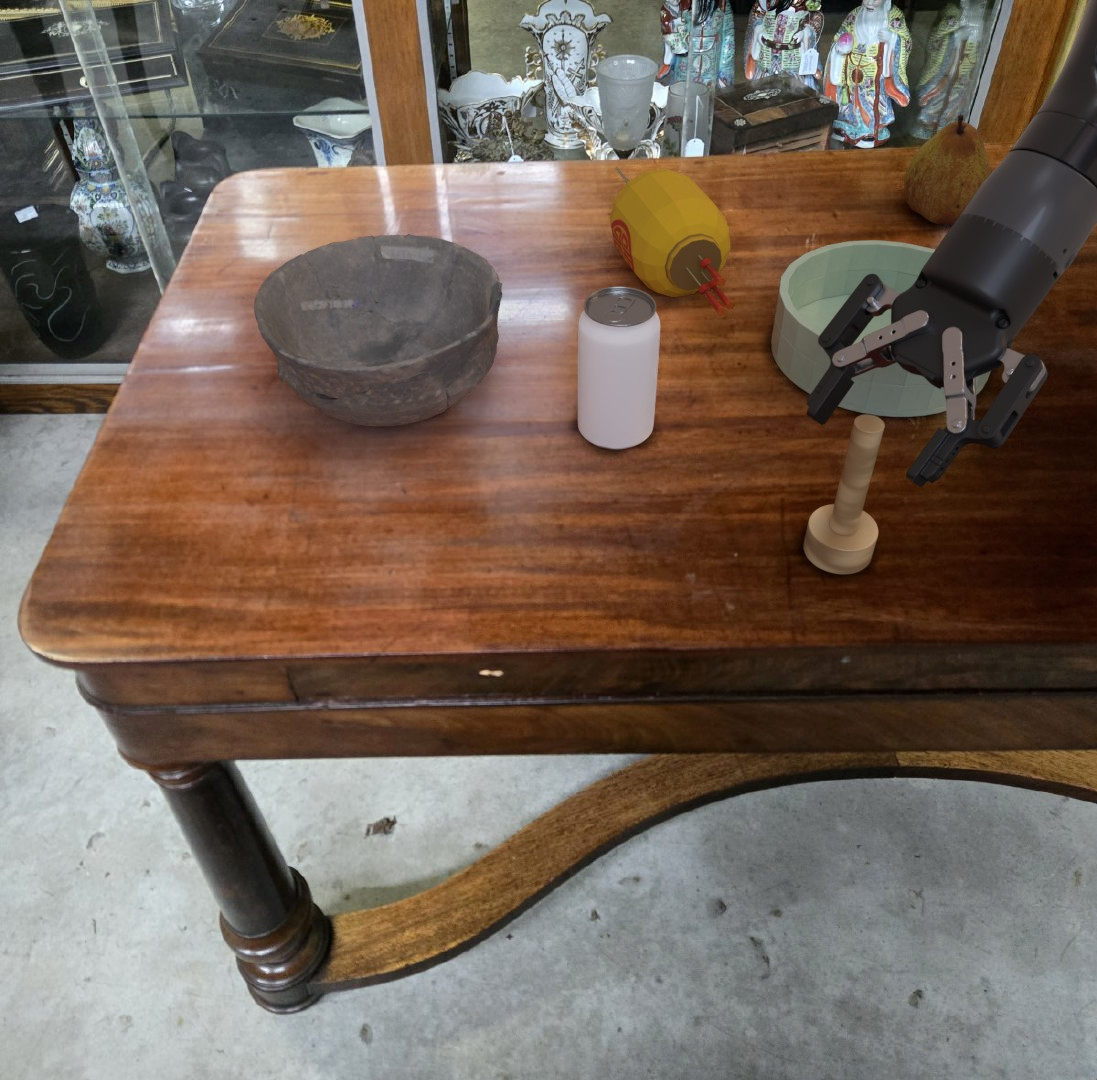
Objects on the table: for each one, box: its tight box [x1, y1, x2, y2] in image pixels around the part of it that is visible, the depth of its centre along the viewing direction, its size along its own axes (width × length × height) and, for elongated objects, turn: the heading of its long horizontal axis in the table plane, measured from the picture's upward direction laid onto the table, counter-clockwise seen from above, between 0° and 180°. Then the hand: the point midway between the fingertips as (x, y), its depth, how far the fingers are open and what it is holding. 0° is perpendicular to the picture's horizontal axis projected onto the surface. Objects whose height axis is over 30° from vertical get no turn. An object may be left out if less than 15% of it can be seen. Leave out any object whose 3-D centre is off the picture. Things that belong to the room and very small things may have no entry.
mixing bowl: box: [770, 239, 992, 418], centre depth 94 cm, size 20×20×6 cm
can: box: [577, 286, 661, 451], centre depth 84 cm, size 6×6×12 cm
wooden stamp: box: [802, 414, 886, 575], centre depth 73 cm, size 5×5×12 cm
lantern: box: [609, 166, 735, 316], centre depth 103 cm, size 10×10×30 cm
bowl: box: [253, 233, 503, 427], centre depth 89 cm, size 21×21×10 cm
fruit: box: [903, 114, 993, 227], centre depth 110 cm, size 9×9×12 cm
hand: (862, 450), depth 71 cm, fingers open, 8 cm apart
